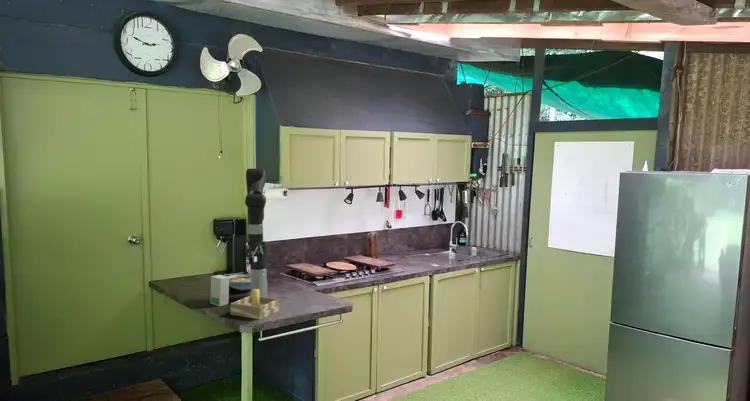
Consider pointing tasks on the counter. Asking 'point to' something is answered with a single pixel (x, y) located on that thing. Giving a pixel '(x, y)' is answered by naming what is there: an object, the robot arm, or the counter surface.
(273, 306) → the box
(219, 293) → the skincare box
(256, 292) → the peg
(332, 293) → the counter surface
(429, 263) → the counter surface
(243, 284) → the ramen bowl
